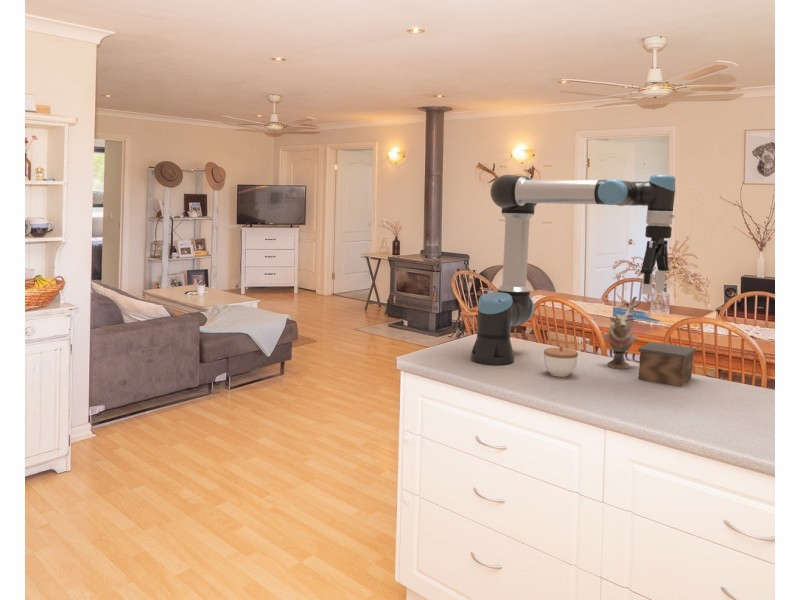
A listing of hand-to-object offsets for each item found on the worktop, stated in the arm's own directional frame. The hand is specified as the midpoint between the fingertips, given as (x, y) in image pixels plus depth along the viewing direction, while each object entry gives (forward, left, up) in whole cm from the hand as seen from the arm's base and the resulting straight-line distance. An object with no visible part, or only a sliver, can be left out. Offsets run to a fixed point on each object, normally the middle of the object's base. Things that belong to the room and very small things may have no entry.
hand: (653, 292), depth 201 cm
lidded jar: (-23, -15, -28) cm, 40 cm away
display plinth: (+5, +4, -28) cm, 29 cm away
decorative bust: (-12, +8, -28) cm, 32 cm away
